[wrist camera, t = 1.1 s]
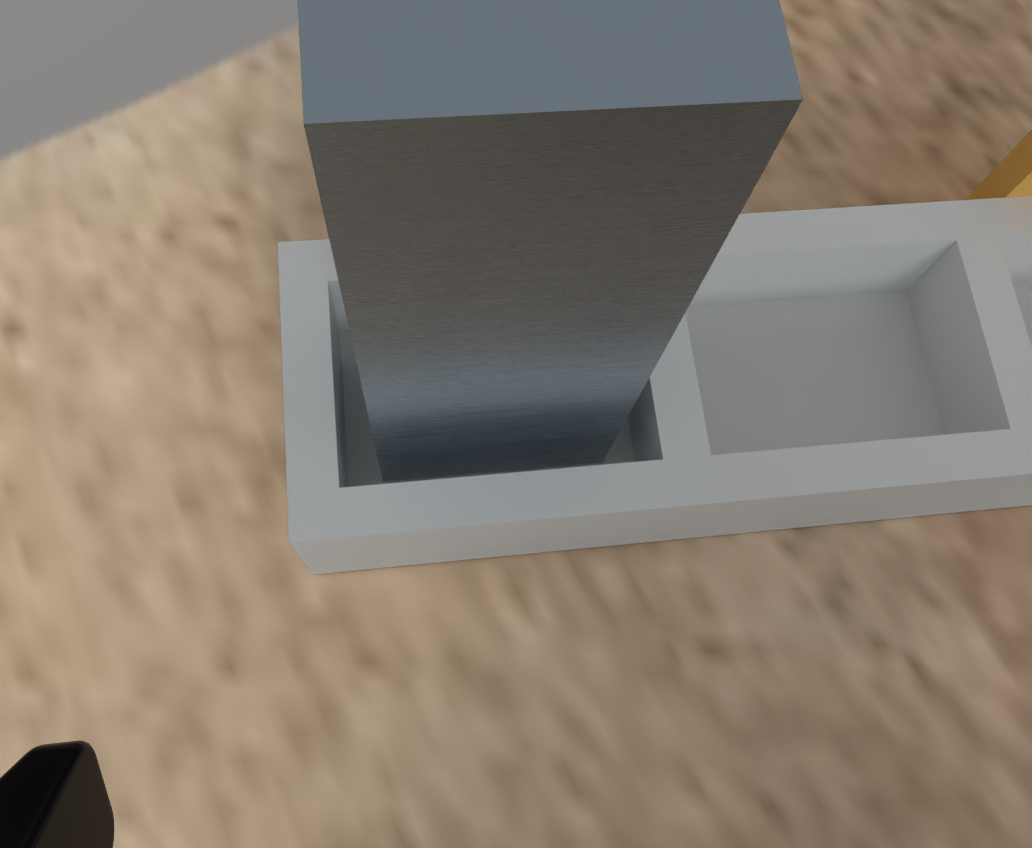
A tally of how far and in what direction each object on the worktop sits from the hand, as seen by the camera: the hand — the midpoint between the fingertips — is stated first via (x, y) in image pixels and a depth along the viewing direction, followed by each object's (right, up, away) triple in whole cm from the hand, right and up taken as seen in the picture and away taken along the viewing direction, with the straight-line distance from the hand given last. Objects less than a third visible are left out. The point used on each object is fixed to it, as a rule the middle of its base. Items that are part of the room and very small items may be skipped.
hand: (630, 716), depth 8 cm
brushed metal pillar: (-2, +3, +14) cm, 14 cm away
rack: (+6, +3, +16) cm, 17 cm away
